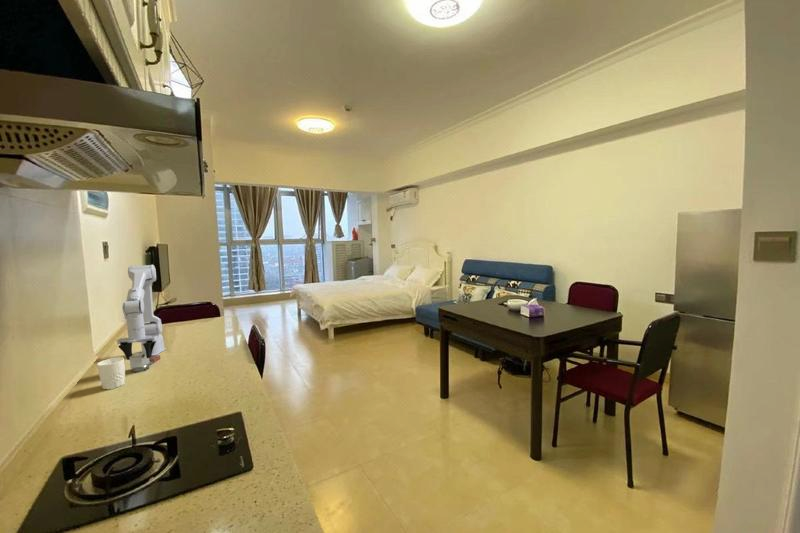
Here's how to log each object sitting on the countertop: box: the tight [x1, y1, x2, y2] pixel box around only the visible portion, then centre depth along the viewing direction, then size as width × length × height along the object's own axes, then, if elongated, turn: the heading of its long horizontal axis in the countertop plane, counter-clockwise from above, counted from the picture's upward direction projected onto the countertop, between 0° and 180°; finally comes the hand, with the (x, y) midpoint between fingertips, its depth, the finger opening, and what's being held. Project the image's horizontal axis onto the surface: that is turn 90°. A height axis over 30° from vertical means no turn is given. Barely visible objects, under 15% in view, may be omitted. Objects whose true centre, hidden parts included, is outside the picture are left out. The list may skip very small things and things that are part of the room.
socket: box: [129, 351, 150, 369], centre depth 142 cm, size 5×5×5 cm
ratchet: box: [130, 354, 161, 374], centre depth 147 cm, size 15×6×4 cm, turn 9°
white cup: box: [96, 357, 126, 390], centre depth 127 cm, size 8×8×10 cm
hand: (139, 358), depth 142 cm, fingers open, 7 cm apart
